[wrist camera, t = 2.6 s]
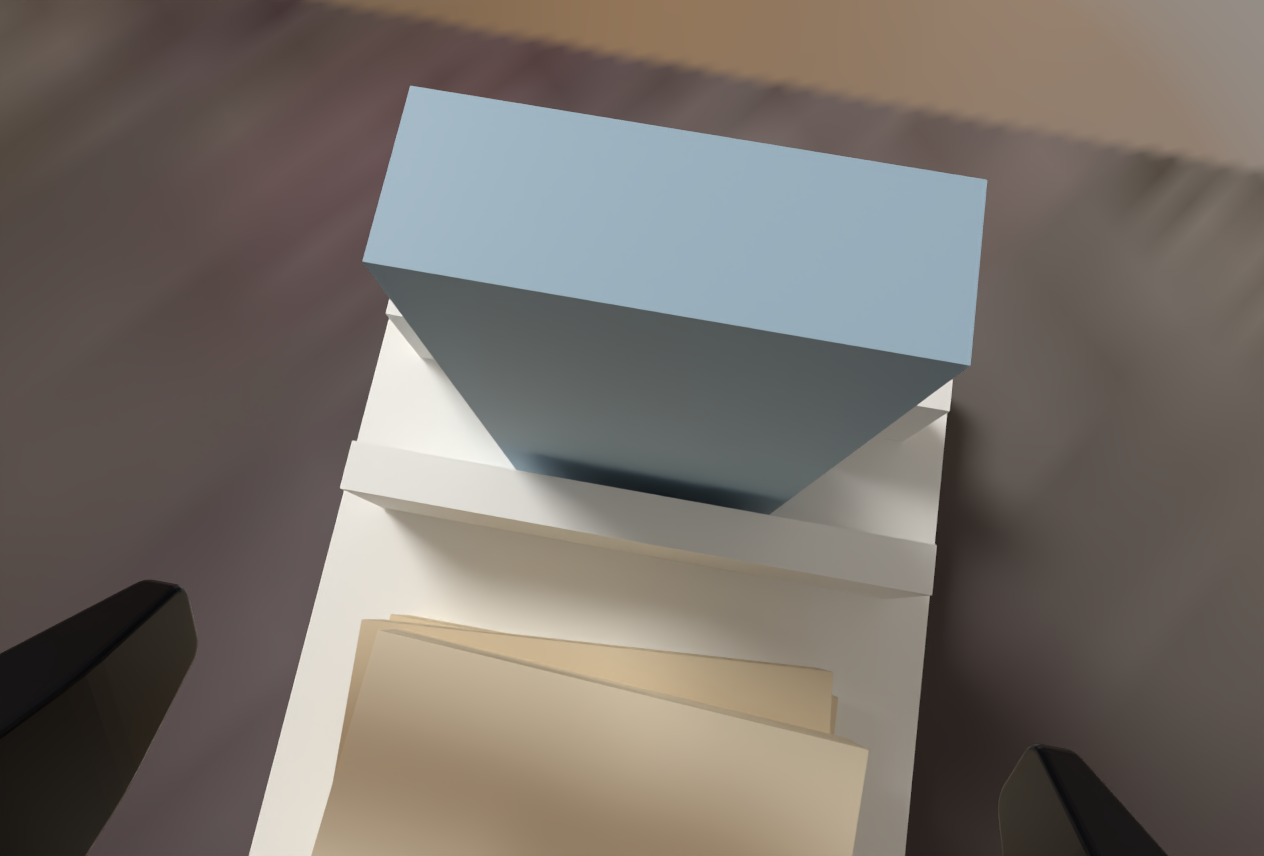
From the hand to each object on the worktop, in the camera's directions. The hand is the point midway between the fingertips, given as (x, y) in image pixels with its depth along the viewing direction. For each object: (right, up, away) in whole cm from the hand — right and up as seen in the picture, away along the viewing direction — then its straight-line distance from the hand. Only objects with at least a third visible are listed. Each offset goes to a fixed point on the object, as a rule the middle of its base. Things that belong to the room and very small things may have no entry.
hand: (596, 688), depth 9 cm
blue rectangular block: (+1, +2, +11) cm, 11 cm away
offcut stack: (-1, -6, +9) cm, 11 cm away
